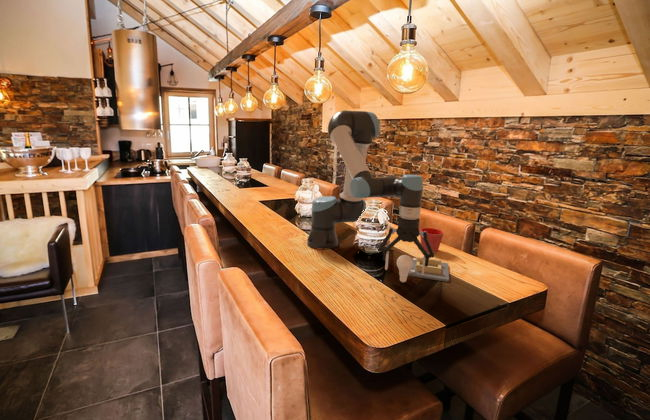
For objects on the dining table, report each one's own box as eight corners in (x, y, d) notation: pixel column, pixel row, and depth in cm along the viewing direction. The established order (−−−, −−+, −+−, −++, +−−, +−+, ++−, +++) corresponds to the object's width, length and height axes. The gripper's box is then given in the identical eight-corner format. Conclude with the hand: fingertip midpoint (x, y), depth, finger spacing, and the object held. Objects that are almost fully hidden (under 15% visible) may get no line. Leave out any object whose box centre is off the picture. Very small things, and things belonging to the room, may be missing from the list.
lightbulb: (400, 286, 133) (403, 259, 130) (391, 280, 138) (394, 253, 136) (414, 284, 135) (417, 257, 133) (404, 277, 141) (407, 251, 138)
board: (407, 275, 143) (407, 267, 142) (410, 260, 160) (411, 252, 159) (448, 282, 139) (449, 273, 138) (447, 265, 155) (448, 257, 155)
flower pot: (442, 254, 168) (444, 235, 166) (418, 252, 170) (420, 232, 168) (440, 247, 178) (442, 228, 176) (417, 245, 180) (419, 226, 178)
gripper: (373, 215, 131) (370, 269, 136) (445, 223, 124) (438, 279, 129) (377, 211, 138) (373, 263, 143) (444, 218, 131) (438, 272, 136)
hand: (404, 271), depth 136 cm, fingers open, 13 cm apart
